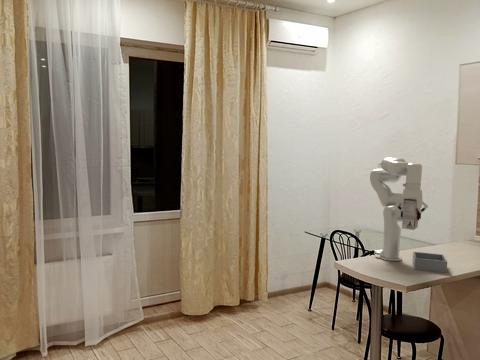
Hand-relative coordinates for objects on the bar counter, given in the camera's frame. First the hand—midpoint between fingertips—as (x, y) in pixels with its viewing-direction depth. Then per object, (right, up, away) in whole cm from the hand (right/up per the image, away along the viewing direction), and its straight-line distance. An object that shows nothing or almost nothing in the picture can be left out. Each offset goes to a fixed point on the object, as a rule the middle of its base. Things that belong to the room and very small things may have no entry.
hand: (410, 219), depth 237 cm
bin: (+13, -27, +8) cm, 32 cm away
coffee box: (0, -5, 0) cm, 5 cm away
